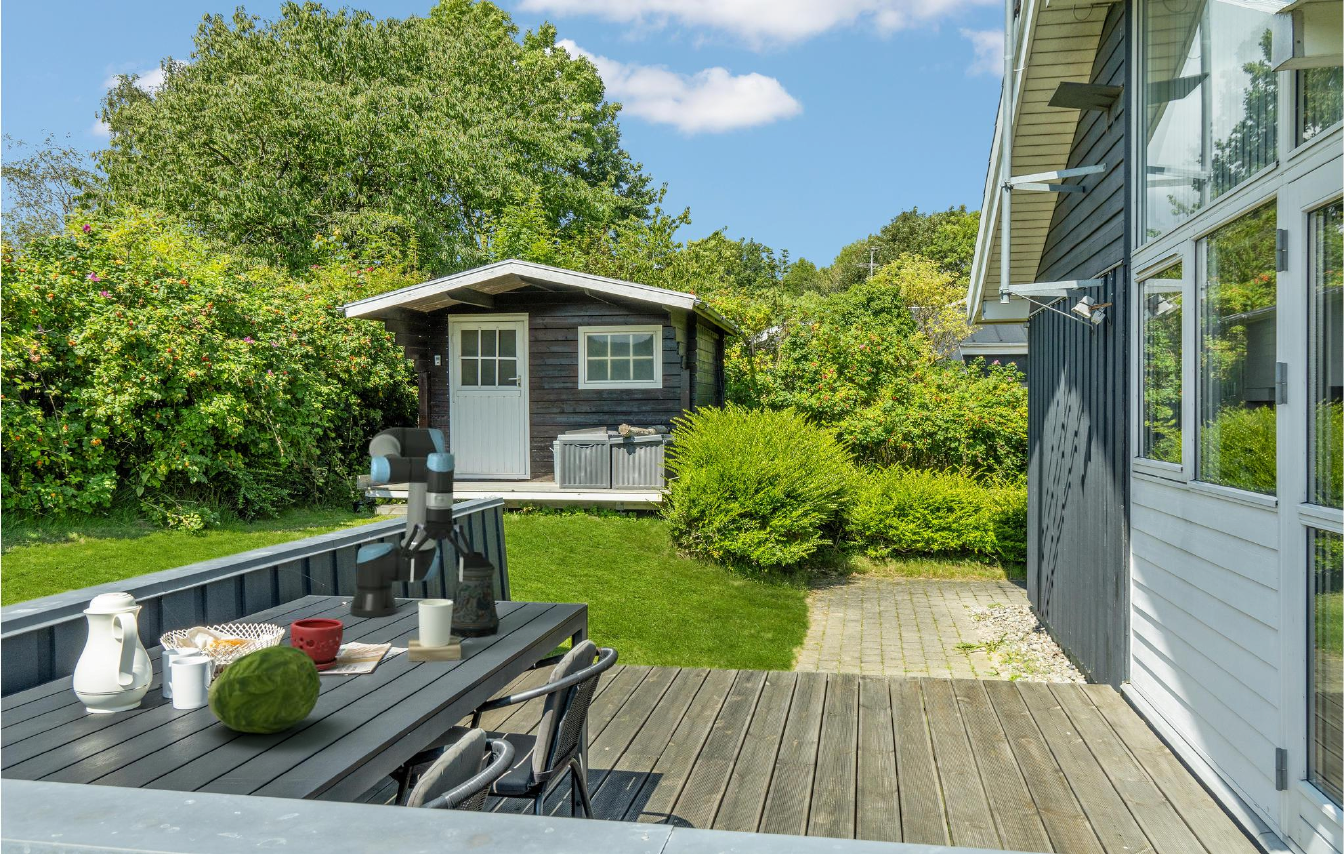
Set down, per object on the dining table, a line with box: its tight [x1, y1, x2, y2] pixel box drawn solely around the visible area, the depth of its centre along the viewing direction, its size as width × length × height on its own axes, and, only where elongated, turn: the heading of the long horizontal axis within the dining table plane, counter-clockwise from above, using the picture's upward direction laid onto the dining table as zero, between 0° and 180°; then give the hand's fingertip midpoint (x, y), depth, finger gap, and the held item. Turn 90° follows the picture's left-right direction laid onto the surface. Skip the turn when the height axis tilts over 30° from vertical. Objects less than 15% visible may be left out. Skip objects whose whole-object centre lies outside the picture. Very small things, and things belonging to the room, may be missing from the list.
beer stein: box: [450, 551, 501, 639], centre depth 290 cm, size 16×19×25 cm
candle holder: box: [417, 598, 453, 648], centre depth 261 cm, size 10×10×12 cm
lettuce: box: [207, 644, 321, 735], centre depth 196 cm, size 19×23×18 cm
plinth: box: [407, 636, 462, 663], centre depth 261 cm, size 14×14×3 cm
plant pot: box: [290, 618, 344, 672], centre depth 244 cm, size 13×13×12 cm
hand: (436, 581), depth 261 cm, fingers open, 13 cm apart
